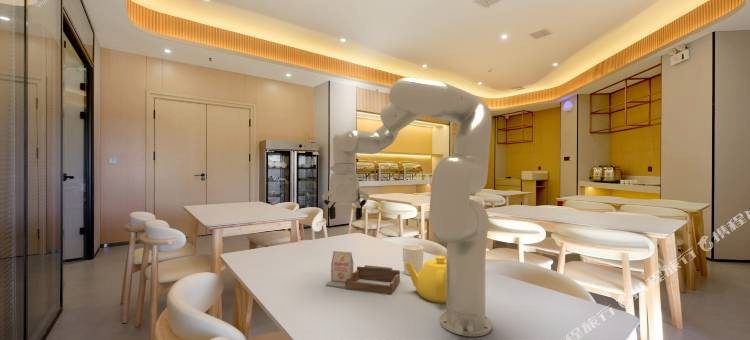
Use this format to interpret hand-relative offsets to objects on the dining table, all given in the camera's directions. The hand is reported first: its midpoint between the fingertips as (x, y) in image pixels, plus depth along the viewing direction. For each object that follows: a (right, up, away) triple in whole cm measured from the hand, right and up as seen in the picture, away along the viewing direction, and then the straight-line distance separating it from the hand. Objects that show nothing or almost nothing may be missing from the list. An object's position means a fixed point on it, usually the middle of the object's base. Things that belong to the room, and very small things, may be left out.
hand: (345, 219), depth 109 cm
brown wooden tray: (+10, -22, -2) cm, 24 cm away
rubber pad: (-1, -22, +2) cm, 22 cm away
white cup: (+25, -23, +11) cm, 35 cm away
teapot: (+31, -23, -9) cm, 39 cm away
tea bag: (-1, -22, +2) cm, 22 cm away
